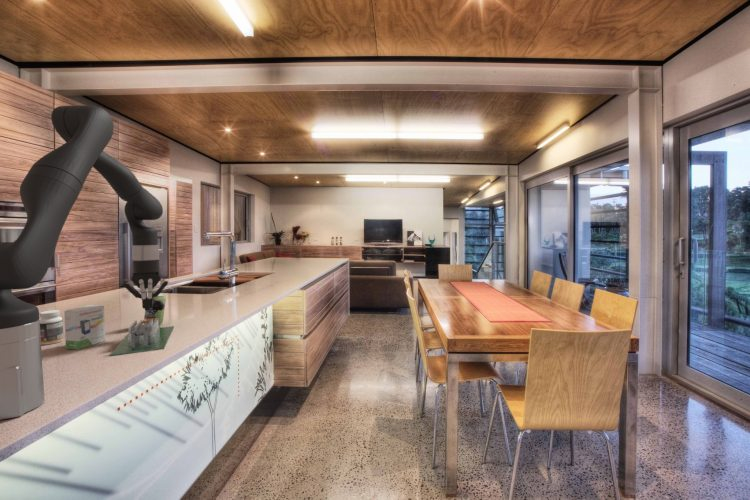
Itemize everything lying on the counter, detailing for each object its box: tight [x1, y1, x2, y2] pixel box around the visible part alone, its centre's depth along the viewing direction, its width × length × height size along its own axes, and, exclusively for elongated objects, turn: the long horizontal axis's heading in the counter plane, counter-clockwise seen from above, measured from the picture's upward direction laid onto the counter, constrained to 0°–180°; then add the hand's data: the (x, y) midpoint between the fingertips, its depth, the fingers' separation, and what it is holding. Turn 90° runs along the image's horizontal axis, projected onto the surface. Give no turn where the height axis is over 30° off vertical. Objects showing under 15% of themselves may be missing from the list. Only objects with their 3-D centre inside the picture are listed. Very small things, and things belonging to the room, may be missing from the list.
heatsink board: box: [110, 313, 175, 357], centre depth 109 cm, size 25×13×6 cm, turn 25°
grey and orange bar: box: [135, 318, 157, 336], centre depth 109 cm, size 19×4×1 cm, turn 25°
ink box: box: [63, 304, 107, 351], centre depth 105 cm, size 9×5×12 cm, turn 168°
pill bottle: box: [39, 309, 64, 346], centre depth 107 cm, size 6×6×10 cm
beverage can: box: [143, 292, 167, 326], centre depth 126 cm, size 6×7×12 cm
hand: (148, 309), depth 114 cm, fingers closed
